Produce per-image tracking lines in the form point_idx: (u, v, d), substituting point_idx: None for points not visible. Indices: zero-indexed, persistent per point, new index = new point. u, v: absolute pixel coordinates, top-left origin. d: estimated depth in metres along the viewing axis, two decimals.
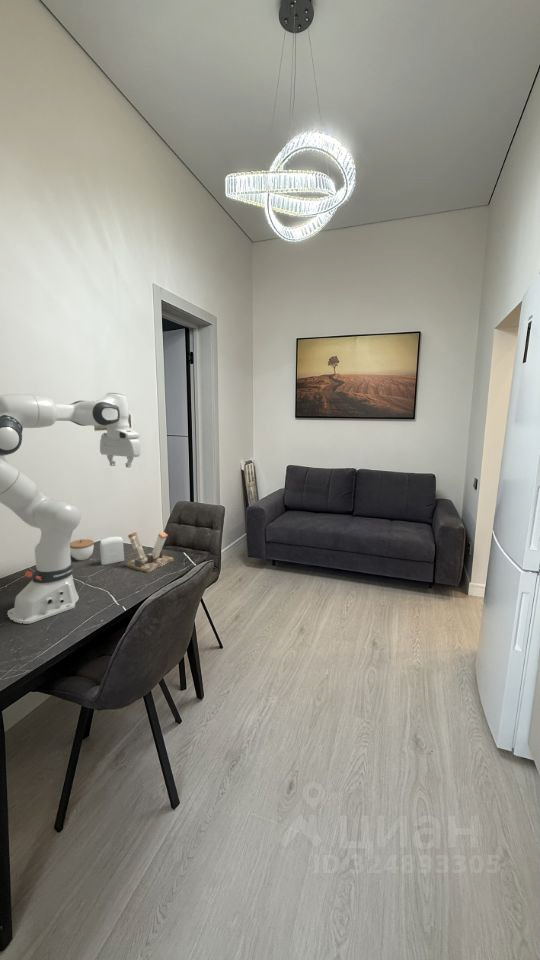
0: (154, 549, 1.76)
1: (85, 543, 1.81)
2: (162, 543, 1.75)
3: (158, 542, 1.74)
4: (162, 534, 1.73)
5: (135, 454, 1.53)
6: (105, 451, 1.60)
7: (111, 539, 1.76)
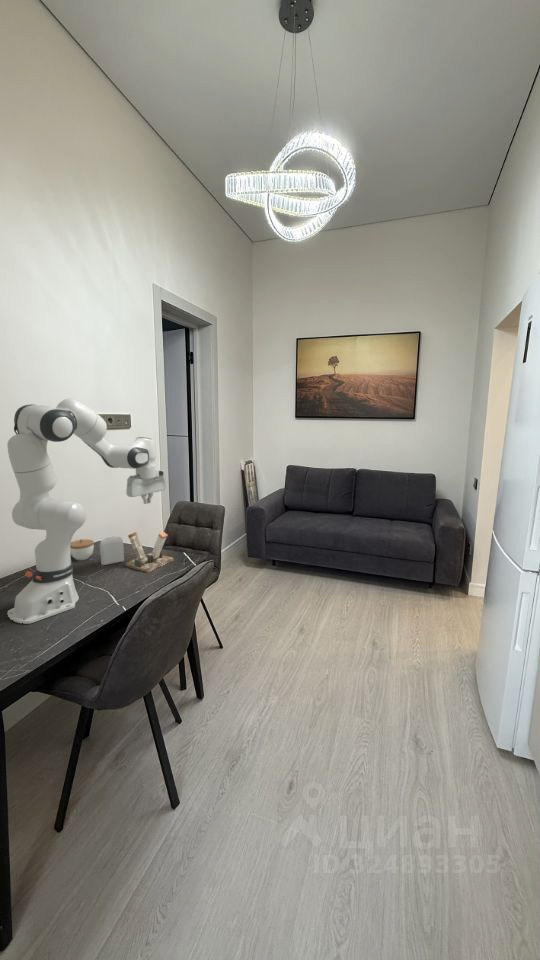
0: (154, 549, 1.76)
1: (85, 543, 1.81)
2: (162, 543, 1.75)
3: (158, 542, 1.74)
4: (162, 534, 1.73)
5: None
6: (138, 493, 1.66)
7: (111, 539, 1.76)
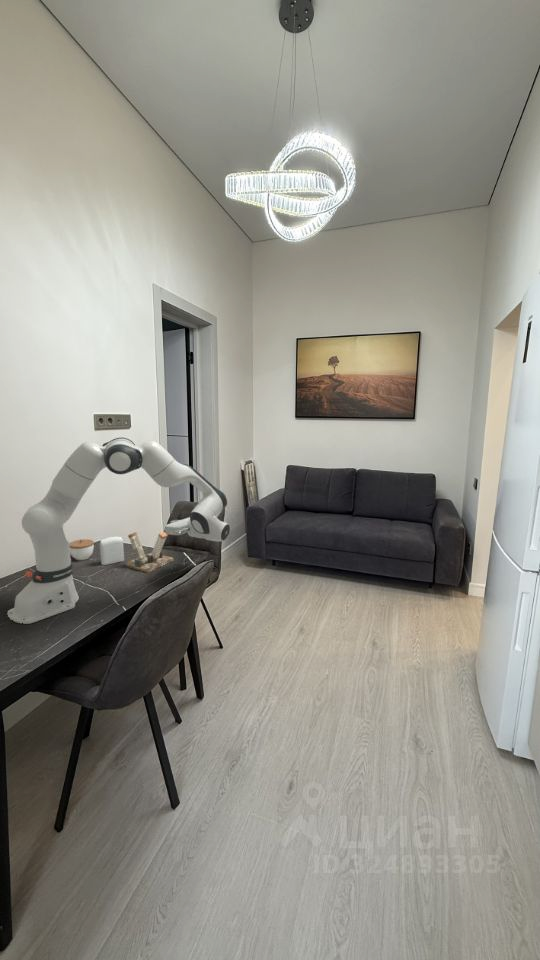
0: (154, 549, 1.76)
1: (85, 543, 1.81)
2: (162, 543, 1.75)
3: (158, 542, 1.74)
4: (162, 534, 1.73)
5: None
6: None
7: (111, 539, 1.76)
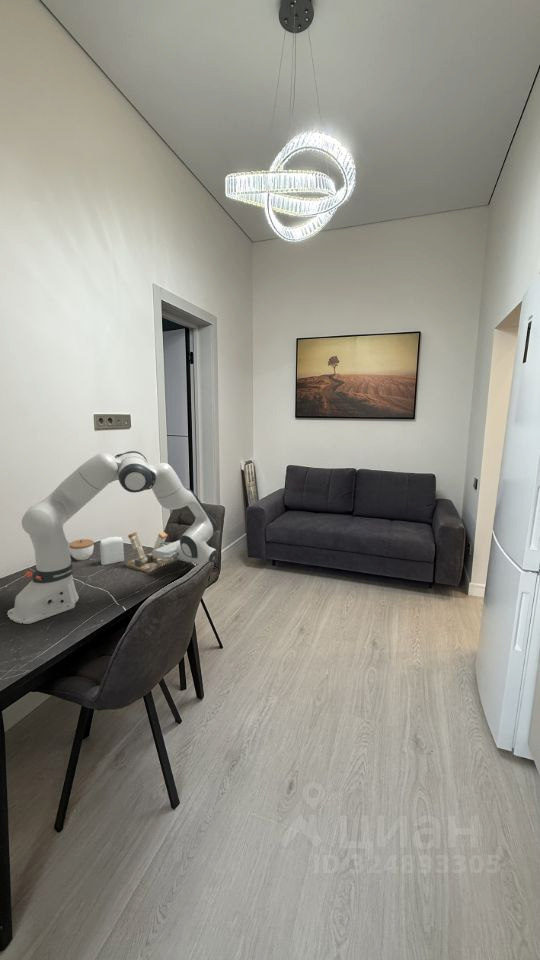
0: (154, 549, 1.76)
1: (85, 543, 1.81)
2: (162, 543, 1.75)
3: (158, 542, 1.74)
4: (162, 534, 1.73)
5: None
6: None
7: (111, 539, 1.76)
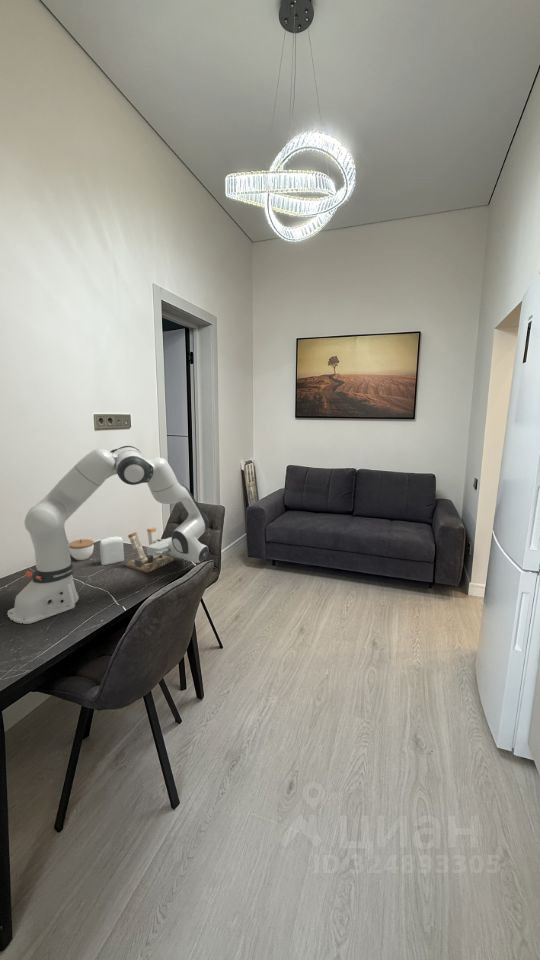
0: None
1: (85, 543, 1.81)
2: (154, 538, 1.77)
3: (150, 538, 1.76)
4: (150, 528, 1.77)
5: None
6: None
7: (111, 539, 1.76)
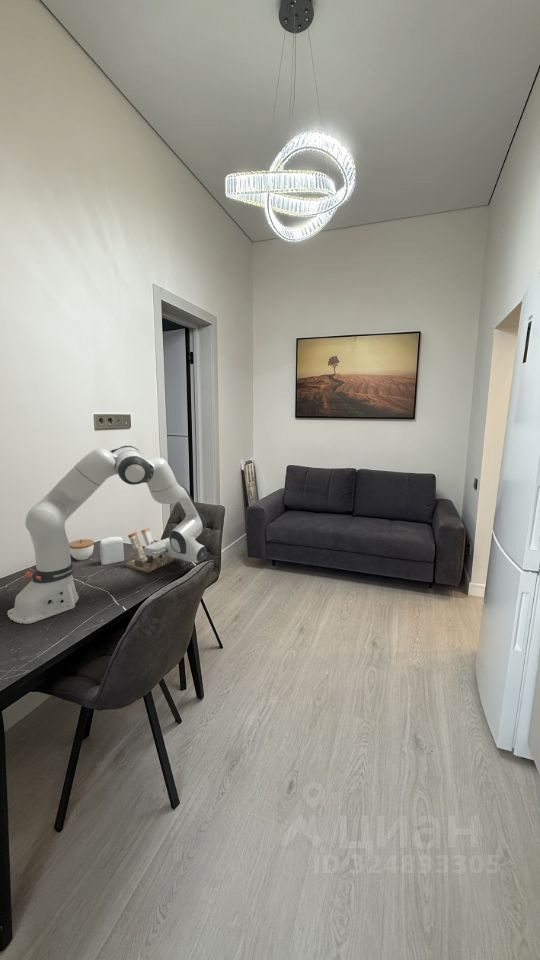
0: None
1: (85, 543, 1.81)
2: (150, 537, 1.79)
3: (146, 538, 1.78)
4: None
5: None
6: None
7: (111, 539, 1.76)
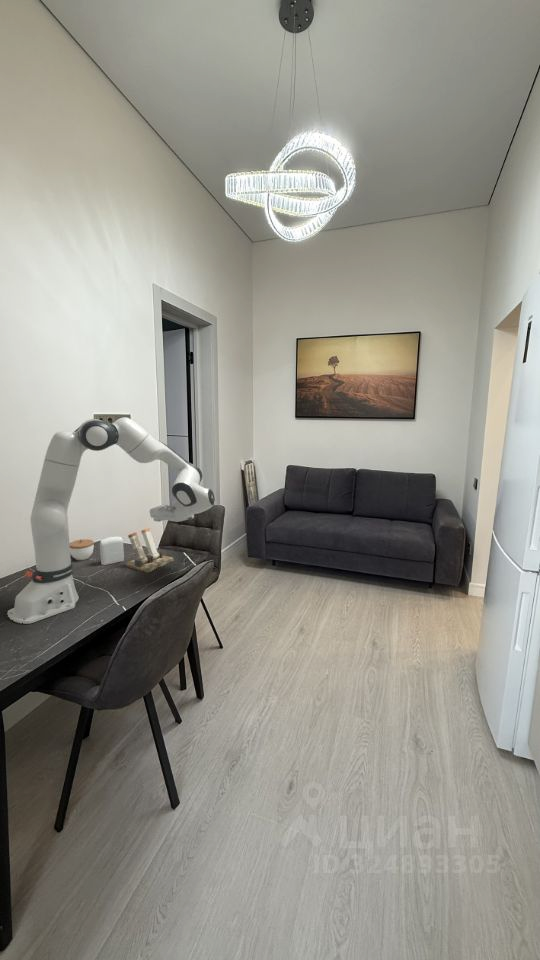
0: (148, 548, 1.78)
1: (85, 543, 1.81)
2: (150, 537, 1.79)
3: (146, 538, 1.78)
4: None
5: None
6: (157, 517, 1.59)
7: (111, 539, 1.76)
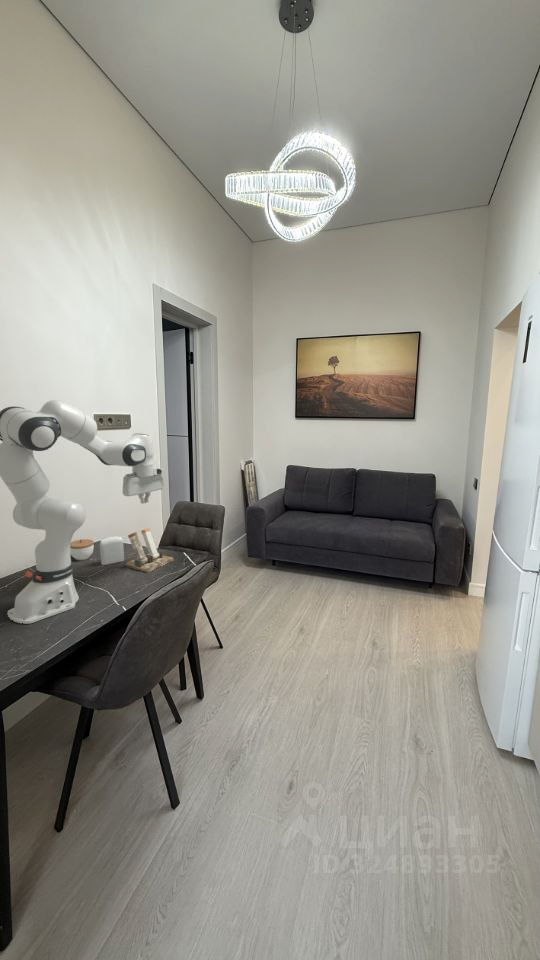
0: (148, 548, 1.78)
1: (85, 543, 1.81)
2: (150, 537, 1.79)
3: (146, 538, 1.78)
4: None
5: None
6: (135, 492, 1.58)
7: (111, 539, 1.76)
